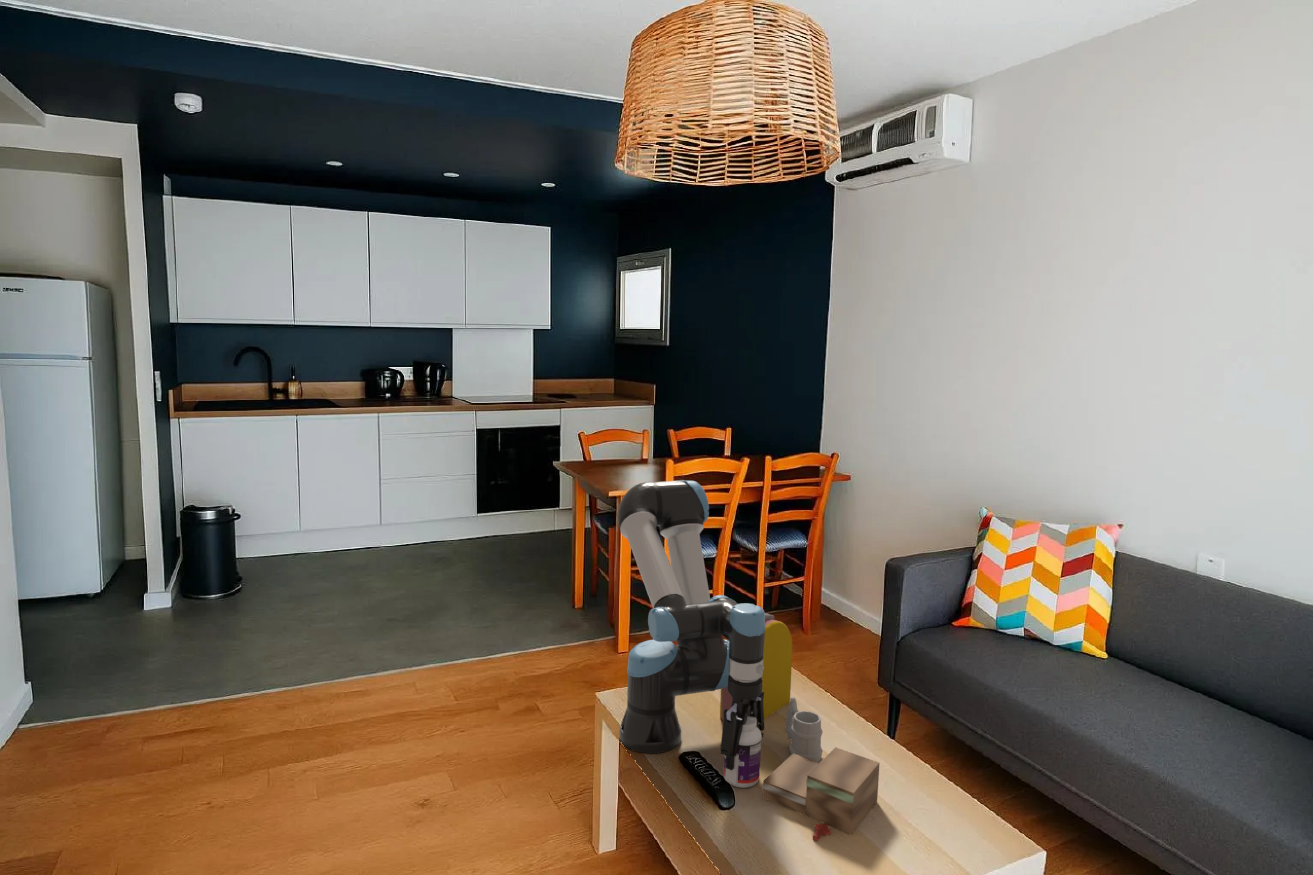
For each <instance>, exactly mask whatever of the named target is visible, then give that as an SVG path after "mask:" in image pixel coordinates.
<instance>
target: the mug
mask: <svg viewBox="0 0 1313 875" xmlns="http://www.w3.org/2000/svg"><path fill="white" fill-rule="evenodd" d="M797 704H798V703H797V699H796V698H795V696H792V697H790V702H789V706H788V710H787V712H786V716H785V720H784V721H785V723H784V724H785V733H786V736H787V739H788V740H791V742H790V744H789V747H788V749H789V750H788V751H789V753H790V754H789V755H790V756H791V755H792V754H793V753H794V754H797V755H799V756H802V757H805V758H808V759H810V760H813V761H816V762H818V763H820V762H821V758H822V755H823V747H822V744H821V743H822V735H823V732H824V731H823V729H822V718H821V716H820V715H819V714H818V713H815V712H813V711H810V710H799V709H798V705H797Z"/></svg>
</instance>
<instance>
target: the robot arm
mask: <svg viewBox="0 0 1313 875" xmlns="http://www.w3.org/2000/svg"><path fill="white" fill-rule="evenodd" d="M709 510H710V504H709V498H708V496H707V493H706V491H705V489H704V487H703V486H702V485H701V484H700V483H699V482H697V481H695V480H684V479H680V480H670V481H669V480H667V481H653V482H652V481H645V482H641V483H638V484H636V485H633V486H632V487H631V488H630V489H629V490H627V492H626V493H625V494H624V495H623V497H622V499H621V500H620V502H619V506H618V509H617V524H618V528H619V530H620V534H621V536H623V537H624V538H625V539H627V540H628V543H629V546H630V548H631V549H630V550H631V552H632V554H633V557H634V559H635V562H636V565H637V568H638V571H639V574H640V576H641V579H642V582H643V584H644V586H645V590H646V593H647V596H648V597H649V602H650V603H651V606H652V608H651V609H650V610H649V612H648V617H647V623H648V624H647V625H648V631H649V634H650V637H651V639H648V640H645V641H642V642H639V643H637V644H636V645H635V646H634V647H632V649H631V650H629V653H628V662H627V667H626V672H627V692H626V693H627V698H626V699H627V702H626V710H625V712H624V715H623V716H622V717H623V718H622V720H621V722H620V723H621V724H620V726H619V740H620V742H621V744H622V745H623V746H625V747H626V748H627V749H629V750H631V751H634V752H638V753H643V754H644V753H645V754H658V753H659V754H660V753H665V752H668V751H670V750H673V749H675V748H676V747H678V745H679V744H680V742H682V726H681V724H680V720H679V718H678V714H677V711H676V706H675V705H676V697H678V696H684V695H691V694H699V693H705V692H714V691H717V690H721V689H723V688H726V687H727V686H728V692H729V693H730V694H731V696H732V697H733V700H732V704H731V708H730V709H729V710H727V709H725V710H724V720H723V725H722V733H721V741H720V748H719V754H720V755H722V756H724V755H725V756H726V773H725V778H724V780H725V781H726V780H727V781H730V782H732V783H735V784H736V783H738V761H739V755H738V754H737V750H738V745H739V741H740V737H741V733H742V728H743V725H745V724H746V720H747V716H749V715H750V716H753V717H755V718H756V719H757V726H756V727H757V728H758V729H759V730H760V732H761V731H762V732H761V735H762V737H761V739H763V737H764V733H763V732H764V731H765V719H764V707H763V698H764V692H763V691H762V683H763V679H762V675H763V670H764V666H763V655H764V639H765V627H766V625H765V613H766V612H765V610H764V609H763V607H761V606H759V605H755V604H754V603H749V602H748V603H747V602H746V603H745V602H744V603H742V602H741V603H738V602H736V601H735V600H734V599H732V598H729V597H728V596H726V595H723V594H719V595H718V594H717V595H714V596H713V597H710V596H711V594H710V591H709V590H710V589H709V585H708V578H707V571H706V567H705V566H706V565H705V560H704V555H703V554H704V553H703V550H702V549H703V548H702V542H701V536H700V534H701V533H702V531H704V528H705V525H704V523H706V522H707V520H708V518H709V515H710V511H709ZM657 527H659V533H660V535H661V536H663V538H665V539H666V540H667V547H668V553H669V554H668V555H669V558H668V555H667V552H666V550H665V548H664V546H663V543H662V541H661V538H660V535H659V533H658V530H657ZM724 638H725V639H724ZM727 639H728V640H729V641H728V640H727ZM674 642H676V644H675V643H674ZM737 717H738V718H741V719H742V720H740V719H737ZM727 781H726V782H727Z"/></svg>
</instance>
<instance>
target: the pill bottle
mask: <svg viewBox="0 0 1313 875" xmlns="http://www.w3.org/2000/svg"><path fill="white" fill-rule="evenodd" d="M737 719H740V720H742V719H741V718H738V717H737ZM756 726H757V719H756V718H755V717H753V716H750V715H749V716H747V720H746V724H745V725H743V728H742V733H741V737H740V741H739V745H738V750H737V754H738V755H739V761H738V783H736V784H735V783H732V782H730V781H727V780H725V781H726V782H727V783H729V784H730V785H731V786H733V787H735V788H740V789H743V788H744V789H745V788H751V787H754V785H756V784H757V783H759V780H760V776H761V775H760V774H761V773H760V772H761V771H760V770H761V753H762V752H761V751H762V750H761V749H762V738H763V737H762V735H761V733H762V732H761V731H760V730H759V729H758V728H757V727H756ZM761 737H762V738H761ZM725 773H726V756H725V755H723V778H724V779H725Z"/></svg>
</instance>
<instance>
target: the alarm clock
mask: <svg viewBox="0 0 1313 875" xmlns="http://www.w3.org/2000/svg"><path fill="white" fill-rule="evenodd" d="M765 625H766V627H765V639H764V655H763V666H764V670H763V675H762V679H763V683H762V691H763V692H764V698H763V707H764V720H766V719H767V718H768V717H770V716H772V715H773V714H774V713H776V712H777V711H778V710H781V708H783V707H785V706H787V704H790V698H791V689H792V688H791V687H792V686H791V684H792V667H793V666H792V665H793V664H792V662H793V639H792V635H791V632H790V630H789V628H788V626H787V625H786V624H785V623H784V622H782V621H779V620H776V619H775V615H773V614H769V613H766V612H765ZM726 640H728V639H727V638H726ZM728 641H729V640H728ZM732 700H733V697H732V696H731V694H730V693H729V692H728V686H727V687H726V688H723V689H720V701H719V702H720V704H719V719H720V720H722V721H724V710H725V709H727V710H729V709H730V708H731V704H732Z"/></svg>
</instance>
